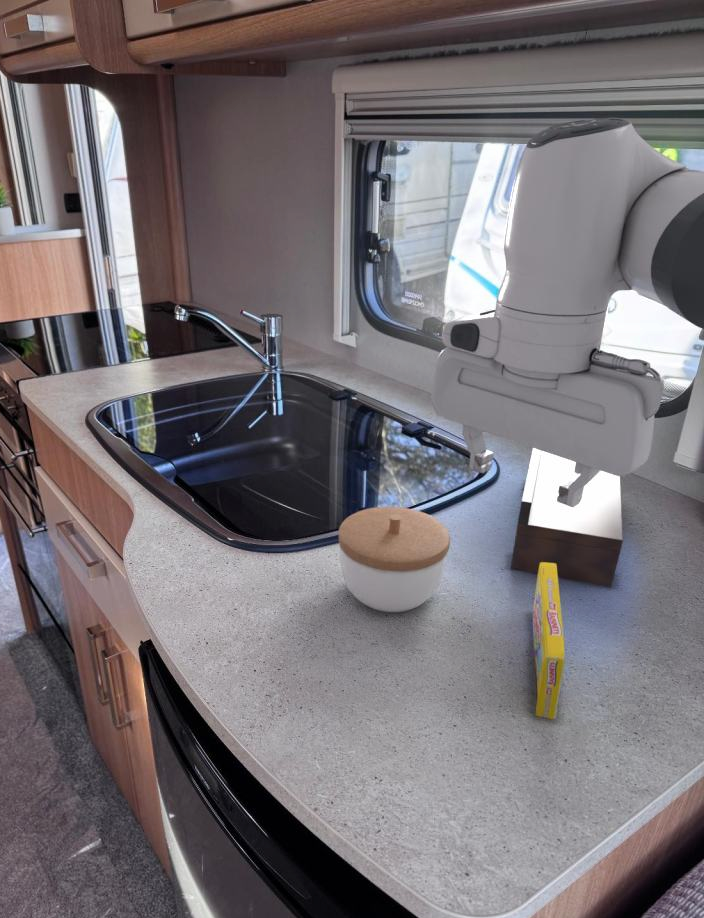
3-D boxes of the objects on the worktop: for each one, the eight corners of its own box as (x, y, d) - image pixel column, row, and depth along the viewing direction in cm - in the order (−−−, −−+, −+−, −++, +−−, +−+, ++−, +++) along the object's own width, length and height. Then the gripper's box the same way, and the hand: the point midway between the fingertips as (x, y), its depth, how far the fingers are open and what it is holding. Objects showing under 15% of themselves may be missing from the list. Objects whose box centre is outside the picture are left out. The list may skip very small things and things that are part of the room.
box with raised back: (608, 499, 109) (623, 435, 104) (610, 593, 88) (628, 518, 83) (527, 487, 113) (537, 424, 108) (509, 574, 91) (521, 501, 86)
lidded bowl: (413, 644, 79) (421, 559, 73) (316, 606, 85) (317, 525, 79) (459, 589, 88) (469, 509, 83) (369, 558, 94) (373, 482, 89)
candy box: (528, 621, 83) (539, 560, 79) (547, 624, 82) (560, 562, 78) (531, 722, 69) (545, 655, 65) (555, 726, 68) (570, 658, 64)
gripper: (686, 357, 56) (646, 513, 63) (469, 311, 69) (455, 444, 76) (650, 375, 52) (612, 539, 59) (427, 322, 65) (416, 462, 72)
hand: (522, 485), depth 67 cm, fingers open, 8 cm apart
